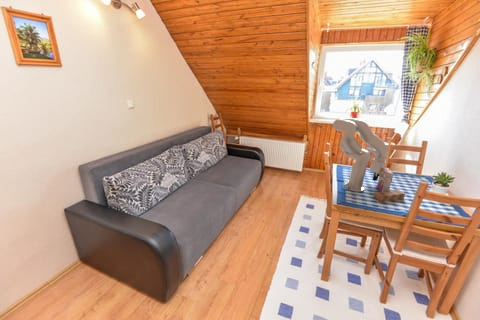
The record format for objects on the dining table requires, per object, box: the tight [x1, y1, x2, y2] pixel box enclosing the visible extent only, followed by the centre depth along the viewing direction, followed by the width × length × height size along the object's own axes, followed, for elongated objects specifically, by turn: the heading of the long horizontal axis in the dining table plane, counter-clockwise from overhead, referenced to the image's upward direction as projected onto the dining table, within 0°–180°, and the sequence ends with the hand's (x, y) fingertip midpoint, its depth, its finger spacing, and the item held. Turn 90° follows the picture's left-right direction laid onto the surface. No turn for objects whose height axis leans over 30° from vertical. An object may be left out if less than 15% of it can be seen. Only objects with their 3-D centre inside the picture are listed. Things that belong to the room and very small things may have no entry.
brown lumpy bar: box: [373, 189, 406, 203], centre depth 156 cm, size 20×6×5 cm, turn 103°
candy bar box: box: [376, 167, 394, 192], centre depth 166 cm, size 11×5×16 cm, turn 165°
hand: (374, 180), depth 176 cm, fingers closed
